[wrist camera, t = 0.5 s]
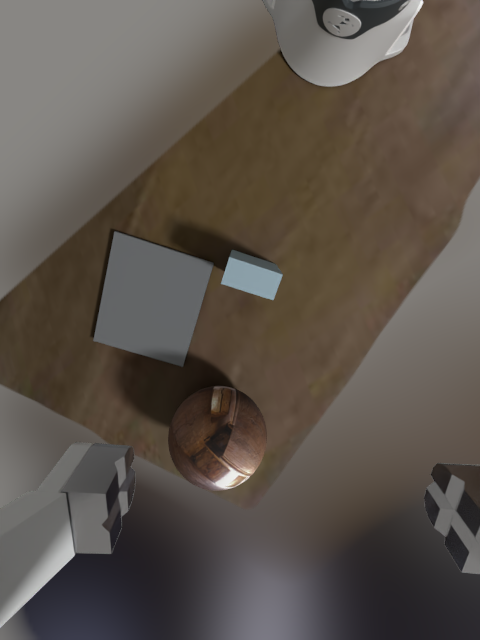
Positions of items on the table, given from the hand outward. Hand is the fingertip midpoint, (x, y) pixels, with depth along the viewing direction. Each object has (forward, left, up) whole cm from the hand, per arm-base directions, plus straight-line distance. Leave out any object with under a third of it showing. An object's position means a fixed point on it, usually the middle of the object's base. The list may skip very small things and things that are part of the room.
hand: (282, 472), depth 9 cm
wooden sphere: (+26, +3, -42) cm, 49 cm away
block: (+1, 0, -42) cm, 42 cm away
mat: (+11, -13, -42) cm, 45 cm away
